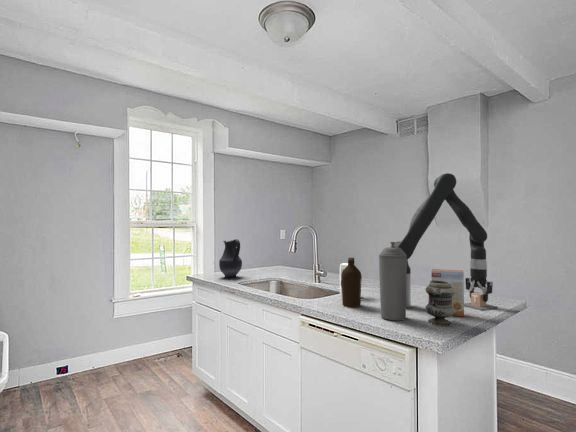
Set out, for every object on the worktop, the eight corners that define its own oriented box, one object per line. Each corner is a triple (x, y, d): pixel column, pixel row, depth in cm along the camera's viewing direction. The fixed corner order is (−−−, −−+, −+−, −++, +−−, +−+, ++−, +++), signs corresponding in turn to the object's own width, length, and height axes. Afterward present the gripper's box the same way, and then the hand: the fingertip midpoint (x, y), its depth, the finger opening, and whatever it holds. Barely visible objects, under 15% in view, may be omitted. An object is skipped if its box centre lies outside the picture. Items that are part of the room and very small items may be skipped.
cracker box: (464, 314, 172) (463, 269, 172) (464, 317, 166) (464, 271, 166) (432, 311, 178) (432, 268, 178) (431, 314, 172) (431, 270, 172)
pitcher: (234, 275, 291) (234, 237, 291) (249, 278, 275) (248, 239, 275) (215, 277, 280) (215, 238, 280) (229, 281, 264) (228, 240, 264)
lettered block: (479, 307, 182) (479, 294, 182) (470, 304, 186) (470, 292, 186) (486, 305, 184) (486, 293, 184) (477, 303, 189) (477, 291, 189)
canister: (396, 313, 174) (395, 240, 174) (413, 320, 162) (413, 242, 162) (373, 315, 170) (372, 241, 170) (389, 323, 158) (388, 243, 158)
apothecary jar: (440, 328, 150) (440, 285, 150) (419, 320, 161) (419, 280, 161) (461, 324, 155) (461, 282, 155) (439, 317, 166) (439, 278, 166)
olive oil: (343, 308, 185) (343, 259, 185) (339, 303, 195) (339, 256, 195) (364, 307, 185) (363, 258, 185) (359, 302, 195) (358, 256, 196)
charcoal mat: (481, 310, 177) (481, 309, 177) (460, 305, 188) (460, 304, 188) (497, 307, 183) (497, 306, 183) (476, 302, 193) (476, 301, 193)
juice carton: (344, 294, 217) (344, 262, 217) (357, 295, 212) (357, 263, 212) (338, 296, 211) (338, 263, 211) (351, 298, 206) (351, 264, 206)
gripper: (461, 266, 190) (461, 298, 190) (486, 270, 177) (486, 303, 177) (471, 265, 193) (471, 296, 193) (496, 268, 180) (496, 302, 180)
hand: (478, 300), depth 185 cm, fingers open, 6 cm apart
